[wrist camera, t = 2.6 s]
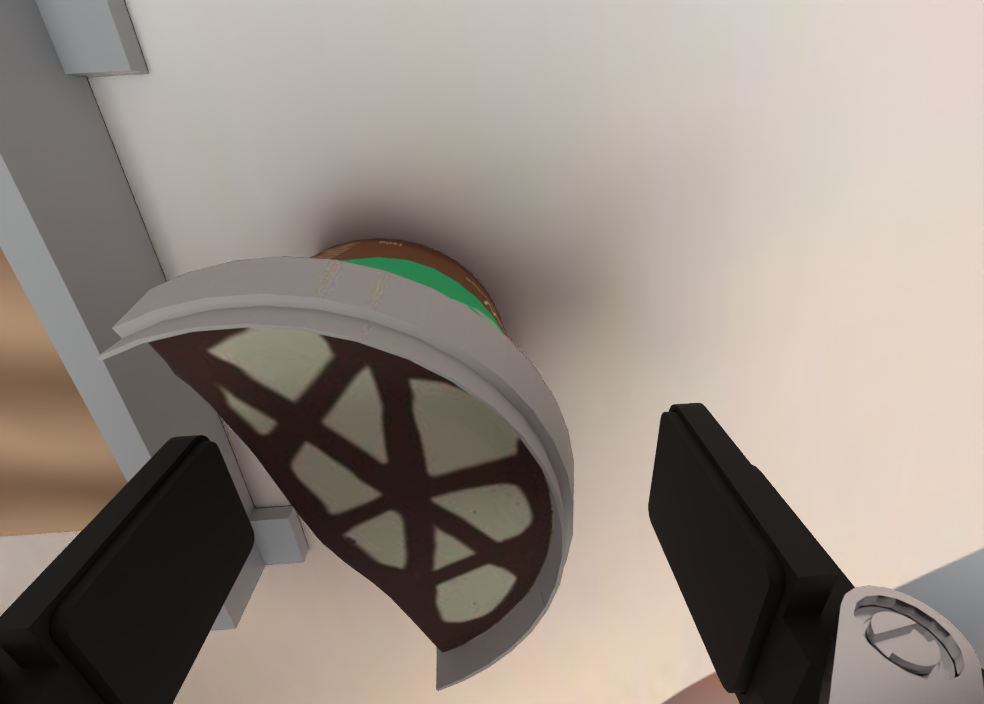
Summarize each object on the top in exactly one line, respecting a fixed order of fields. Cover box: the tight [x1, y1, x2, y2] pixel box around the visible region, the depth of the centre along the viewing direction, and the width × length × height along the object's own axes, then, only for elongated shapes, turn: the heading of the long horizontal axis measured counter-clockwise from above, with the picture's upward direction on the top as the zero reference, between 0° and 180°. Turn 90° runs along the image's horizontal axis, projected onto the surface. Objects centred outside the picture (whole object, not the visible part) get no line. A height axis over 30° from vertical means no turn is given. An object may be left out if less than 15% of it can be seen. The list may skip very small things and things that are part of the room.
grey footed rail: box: [0, 0, 309, 631], centre depth 16 cm, size 24×5×4 cm, turn 3°
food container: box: [97, 238, 574, 691], centre depth 14 cm, size 12×6×10 cm, turn 26°
